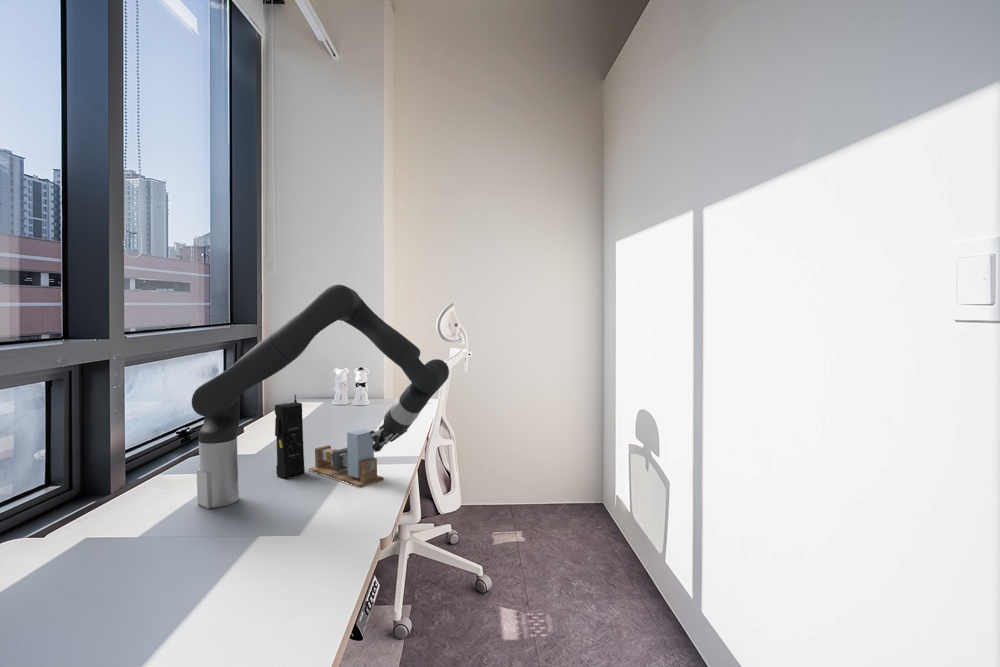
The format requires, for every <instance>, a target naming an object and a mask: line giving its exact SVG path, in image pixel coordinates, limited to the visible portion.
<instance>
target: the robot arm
mask: <svg viewBox="0 0 1000 667" xmlns="http://www.w3.org/2000/svg"><path fill="white" fill-rule="evenodd" d="M337 321H341V322H345V323H346V324H348V325H350V326H351V327H353V328H355V329H356V330H358V332H360V333H362V334H363V335H364V336H366V337H367V339H369V341H371V342H372V344H374V346H375V347H376V348H377V349H379V351H380V352H381V353H382V354H383V355H385V356H386V357H387V358H388V359H389V360H391V361H392V362H394V364H395V365H397V366H399V368H400V369H401V370H402V371H403V373H404V374H405V376H406V377H407V379H408V380H409V381H410V382H411V383H410V384H409V385H408V386H407V387H406V388H405V389H404V391H403V392H402V394H400V396H399V397H398V398H397V399H396V400H395V401H394V403H392V405H391V407H390V408H389V410H388V411H387V412H386V413H385V415H384V416H383V417H384V418H383V423H382V425H380V426H379V428H378V430H376V431H375V430H371V432H370V435H371V437H372V439H373V441H374V445H373V446H372V448H373V449H374V453H378V452H381V451H382V449H383V448H384V446H385V445H388V444H389V443H392V442H394V441H395V440H397V439H398V438H400V437H401V436H402V435H404V434H405V433H407V432H408V429H410V427H411V426H412V424H413V423H414V421H416V419H417V418H418V417H419V415H420V413H421V412H422V410H423V409H424V408H425V406H426V405H427V404H428V402H429V401H430V399H431V398H432V397H433V396H434V394H435V393H437V391H438V390H439V389H440V388H441V387H442V386H443V385H444V384H445V383H446V382H447V380H448V379H449V375H450V368H449V366H448V364H447V363H446V362H445V361H444V360H442V359H439V358H436V359H435V358H434V359H432V360H429V361H428V362H426V363H425V364H424V363H423V362H422V360H421V359H420V357H421V349H420V348H418V347H417V345H415V344H414V343H413V342H412V341H411V340H409V339H408V338H406V337H405V336H404V335H403V334H402V333H400V332H399V331H398V330H396V329H395V328H394V327H392V326H391V325H389V324H388V323H386V322H385V321H384V320H383V319H382V318H381V317H379V316H378V315H377V314H376V313H375V312H374V311H373V310H372V309H371V308H370V307H369V305H368V304H366V302H365V300H363V299H362V298H361V296H359V294H358V292H356V290H354V289H352V288H350V287H348V286H346V285H343V284H334V285H331V286H328V287H326V288H325V289H324V290H323V291H322V292H321V293H320V294H319V295H318V296H317V297H316V298H315V299H314V300H313V301H312V302H311V303H309V305H307V306H306V307H305V308H304V309H302V311H300V312H299V313H298V314H296V315H295V316H293V317H292V318H291V319H289V320H288V321H286V322H285V323H284V324H282V325H281V326H279V328H277V329H275V330H274V331H273V332H271V333H269V335H267V336H265V338H263V339H262V340H261V341H259V342H258V343H257V344H256V345H254V346H253V347H252V348H251V349H249V351H247V352H246V353H245V354H244V355H242V356H241V357H240V358H239V359H238V360H237V361H236V362H235V363H234V364H232V365H230V367H228V368H227V369H226V370H224V371H222V372H221V373H219V374H217V376H215V377H213V378H211V379H210V380H208V381H206V382H205V383H202V384H201V385H199V386H198V387H197V388H196V389H195V391H194V392H193V393H192V397H191V406H192V409H193V411H194V413H196V414H197V415H199V416H201V417H204V419H203V423H202V426H201V428H200V430H199V431H198V456H199V460H198V461H199V468H197V469H196V490H197V492H196V493H197V495H196V496H197V505H200V506H201V507H202V508H205V509H207V510H209V509H212V508H214V509H215V508H220V507H221V508H222V507H226V506H229V505H232V504H235V503H237V502H238V501H239V500H240V494H239V493H240V490H239V461H238V460H239V458H238V457H239V456H238V453H239V452H238V429H239V427H240V419H241V418H240V417H241V416H240V414H241V413H240V412H241V411H240V409H241V408H240V407H241V404H240V403H241V402H240V401H241V400H240V396H241V395H242V394H244V393H245V392H246V391H247V390H249V389H251V388H252V387H254V386H256V385H258V384H259V383H261V382H263V381H265V380H267V379H269V378H270V377H272V376H274V375H275V374H277V373H278V372H280V371H282V370H283V369H285V368H286V367H287V366H289V365H290V364H291V363H292V362H294V361H295V360H296V359H298V357H300V356H301V355H302V354H303V353H304V352H305V350H306V349H307V347H308V346H309V344H311V343H312V341H313V340H314V338H315V337H316V336H317V335H318V334H319V333H320V332H322V331H324V330H325V329H327V327H329V326H330V325H332V324H334V323H335V322H337Z"/></svg>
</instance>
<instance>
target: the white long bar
mask: <svg viewBox="0 0 1000 667" xmlns="http://www.w3.org/2000/svg"><path fill="white" fill-rule="evenodd" d="M335 450H338V448H337V449H336V448H335V449H334V448H331V449H330V448H326V449H322V450H320V457H321V459H322V460H325V461H326V462H332V463H333V451H335ZM339 458H340V465H341V466H345V467H348V456H347V453H344V454H340V455H339ZM365 460H367V459H365ZM361 461H363V460H361ZM372 462H373V461H372ZM369 463H370V464H371V462H369ZM373 464H374V462H373V463H372V465H373ZM367 465H368V464H367ZM367 465H366V466H367ZM368 466H370V467H369V468H370V471H368V472H371V471H374V469H373V468H374V465H373V466H372V469H373V470H371V465H368ZM369 468H367V469H368V470H369ZM367 469H366V470H367ZM366 472H367V471H366ZM368 472H367V473H368Z"/></svg>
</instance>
